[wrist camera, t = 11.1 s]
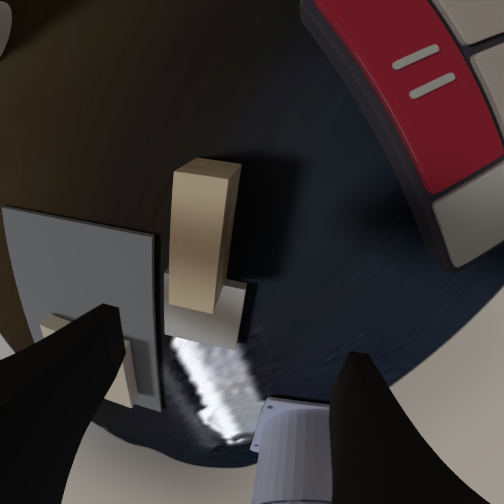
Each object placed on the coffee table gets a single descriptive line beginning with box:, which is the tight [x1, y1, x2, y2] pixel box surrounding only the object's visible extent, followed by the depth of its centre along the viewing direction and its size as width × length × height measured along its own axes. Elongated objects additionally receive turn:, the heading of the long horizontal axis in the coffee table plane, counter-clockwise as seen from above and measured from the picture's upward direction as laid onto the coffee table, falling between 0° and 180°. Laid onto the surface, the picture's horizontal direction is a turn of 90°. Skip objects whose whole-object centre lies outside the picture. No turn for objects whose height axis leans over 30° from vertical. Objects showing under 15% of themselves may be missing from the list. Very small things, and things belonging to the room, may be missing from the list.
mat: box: [2, 206, 162, 412], centre depth 23 cm, size 18×14×1 cm
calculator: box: [300, 0, 504, 274], centre depth 11 cm, size 11×4×15 cm
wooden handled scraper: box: [164, 158, 247, 350], centre depth 17 cm, size 12×5×4 cm, turn 171°
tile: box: [40, 314, 138, 408], centre depth 23 cm, size 2×8×7 cm
